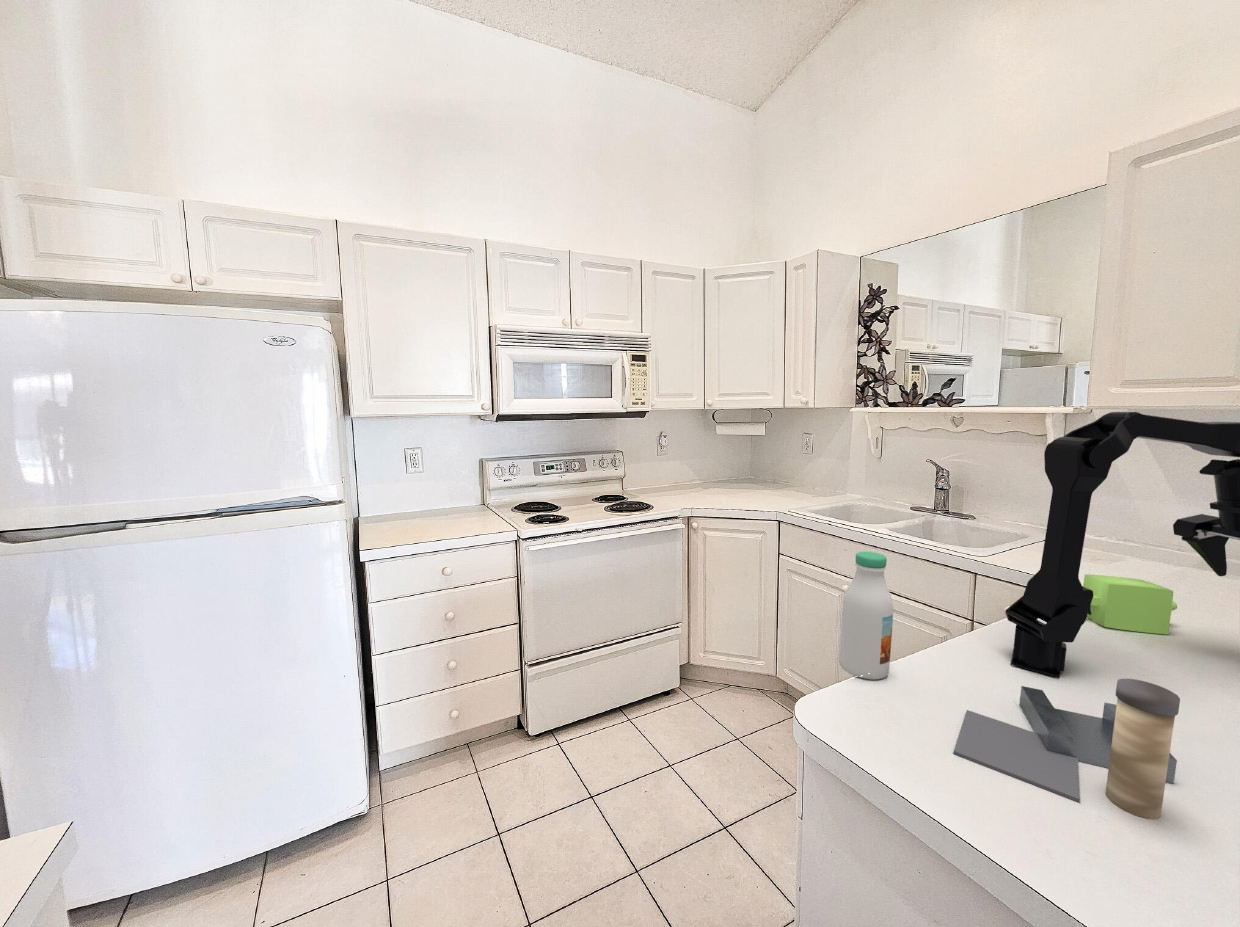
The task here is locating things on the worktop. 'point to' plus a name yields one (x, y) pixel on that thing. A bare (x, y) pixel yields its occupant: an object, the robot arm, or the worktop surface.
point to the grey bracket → (1074, 730)
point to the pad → (1017, 754)
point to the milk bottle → (867, 620)
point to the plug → (1141, 747)
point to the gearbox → (1130, 604)
